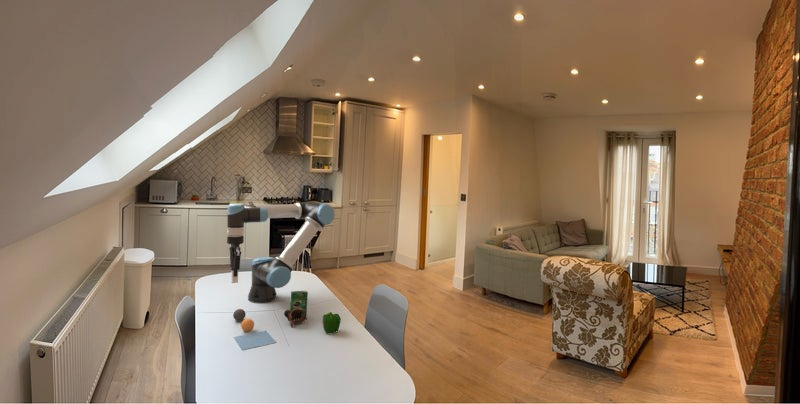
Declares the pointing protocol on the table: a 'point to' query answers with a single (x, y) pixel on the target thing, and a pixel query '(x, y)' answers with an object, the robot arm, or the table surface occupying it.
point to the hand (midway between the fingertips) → (234, 282)
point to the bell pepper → (331, 322)
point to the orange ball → (247, 325)
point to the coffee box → (299, 301)
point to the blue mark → (254, 340)
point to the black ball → (239, 314)
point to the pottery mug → (295, 316)
